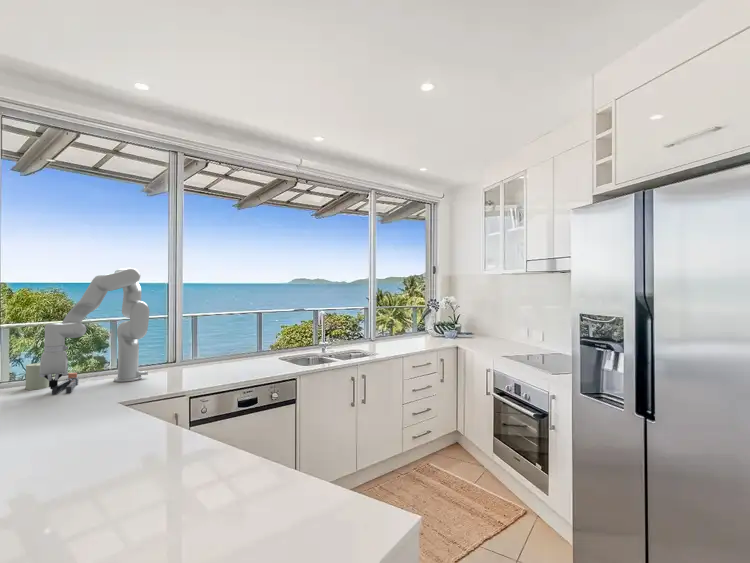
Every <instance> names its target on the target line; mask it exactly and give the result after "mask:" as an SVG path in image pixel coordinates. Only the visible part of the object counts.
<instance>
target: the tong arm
mask: <svg viewBox="0 0 750 563" xmlns="http://www.w3.org/2000/svg"><path fill="white" fill-rule="evenodd" d="M70 383H71V380H66V379H65V380H64V381H62V382H60V383H59V384H58V385H57V386H54V387H52V389H51V395H57V394H59V393H61V392H62V391H64V390H66V387H67V385H69V384H70Z"/></svg>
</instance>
